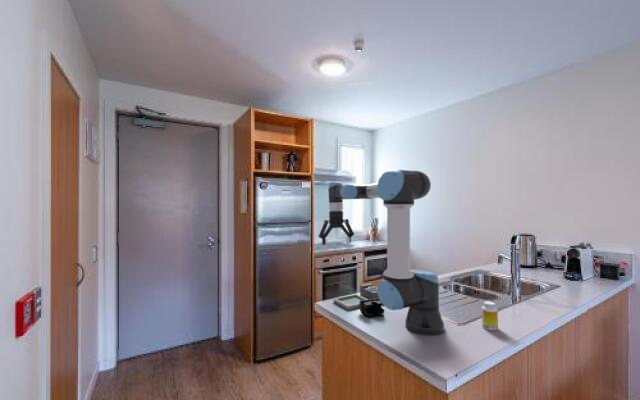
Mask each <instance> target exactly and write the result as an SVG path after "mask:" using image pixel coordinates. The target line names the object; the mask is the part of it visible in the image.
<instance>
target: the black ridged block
mask: <svg viewBox="0 0 640 400" xmlns="http://www.w3.org/2000/svg"><path fill="white" fill-rule="evenodd" d="M384 307H385V306H384V305H383V304H382V302H381V301H380V299H379V298H377V299H369V300H361V301H360V303H359V308H358V309H359V311H360V313H361V314H362V316H363V317H364V318H365V319H372V318H378V317H380V318H381V317H384V316H385V308H384Z"/></svg>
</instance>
